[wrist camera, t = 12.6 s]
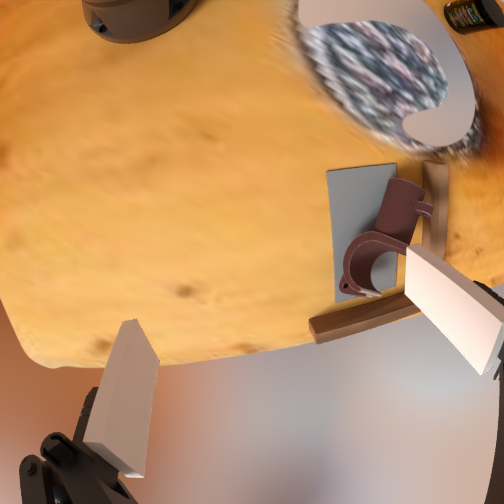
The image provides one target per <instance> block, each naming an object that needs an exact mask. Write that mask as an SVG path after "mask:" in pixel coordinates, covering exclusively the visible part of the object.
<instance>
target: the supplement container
mask: <svg viewBox="0 0 504 504" xmlns="http://www.w3.org/2000/svg"><path fill="white" fill-rule="evenodd" d="M444 15H445V18H446V20H447V22H448V23H449V25H450V26H451V27H452V28H453V29H454V30H455V31H456V32H458V33H460V34H463V35H466V34H471V33H475V32H480V31H485V30H490V29H498V28H503V27H504V15H503V12H502V10H501V8H500V7H499V5H498V4H497V2H496V1H495V0H456V1H453V2H450V3H448V4H446V5H445V6H444Z"/></svg>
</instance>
